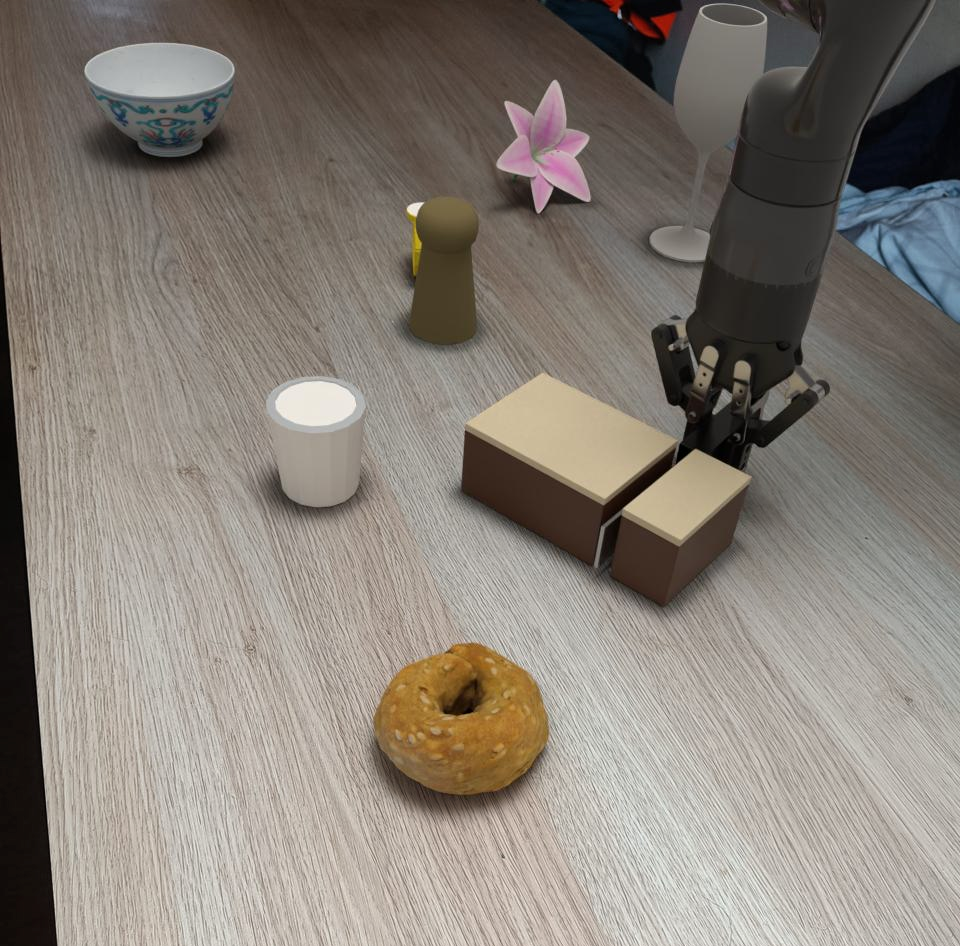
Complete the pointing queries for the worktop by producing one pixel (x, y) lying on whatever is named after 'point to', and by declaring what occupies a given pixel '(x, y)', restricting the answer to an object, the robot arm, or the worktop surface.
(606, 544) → the knife
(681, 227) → the wineglass
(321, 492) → the cup of milk
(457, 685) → the bagel
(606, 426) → the cake loaf
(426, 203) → the chess pawn piece
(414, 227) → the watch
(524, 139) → the lily
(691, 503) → the cake slice
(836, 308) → the worktop surface
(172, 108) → the chinaware
